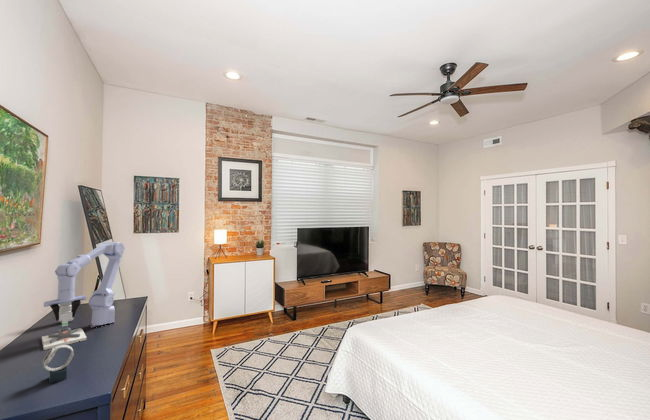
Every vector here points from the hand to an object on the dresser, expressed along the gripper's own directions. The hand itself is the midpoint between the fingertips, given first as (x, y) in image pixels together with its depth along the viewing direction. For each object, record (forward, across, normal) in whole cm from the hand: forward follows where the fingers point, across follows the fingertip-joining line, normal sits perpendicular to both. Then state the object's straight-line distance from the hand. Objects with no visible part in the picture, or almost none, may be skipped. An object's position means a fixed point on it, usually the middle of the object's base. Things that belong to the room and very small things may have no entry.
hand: (65, 318), depth 129 cm
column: (+3, 0, 0) cm, 3 cm away
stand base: (+10, 0, 0) cm, 10 cm away
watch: (+10, +9, +40) cm, 42 cm away
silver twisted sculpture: (+10, -6, -28) cm, 31 cm away
